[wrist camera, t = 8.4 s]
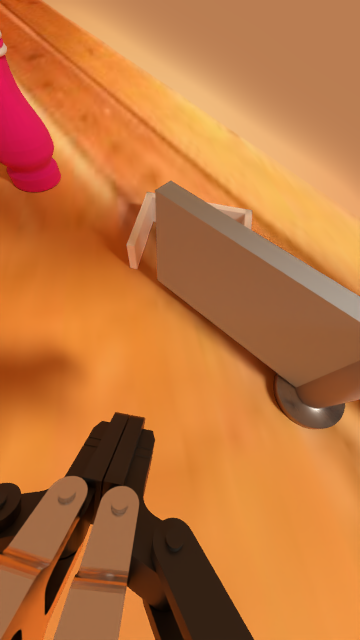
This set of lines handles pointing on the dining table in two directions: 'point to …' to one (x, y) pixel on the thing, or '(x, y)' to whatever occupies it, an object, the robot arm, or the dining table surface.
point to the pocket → (149, 216)
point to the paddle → (261, 297)
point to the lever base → (304, 407)
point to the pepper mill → (23, 137)
